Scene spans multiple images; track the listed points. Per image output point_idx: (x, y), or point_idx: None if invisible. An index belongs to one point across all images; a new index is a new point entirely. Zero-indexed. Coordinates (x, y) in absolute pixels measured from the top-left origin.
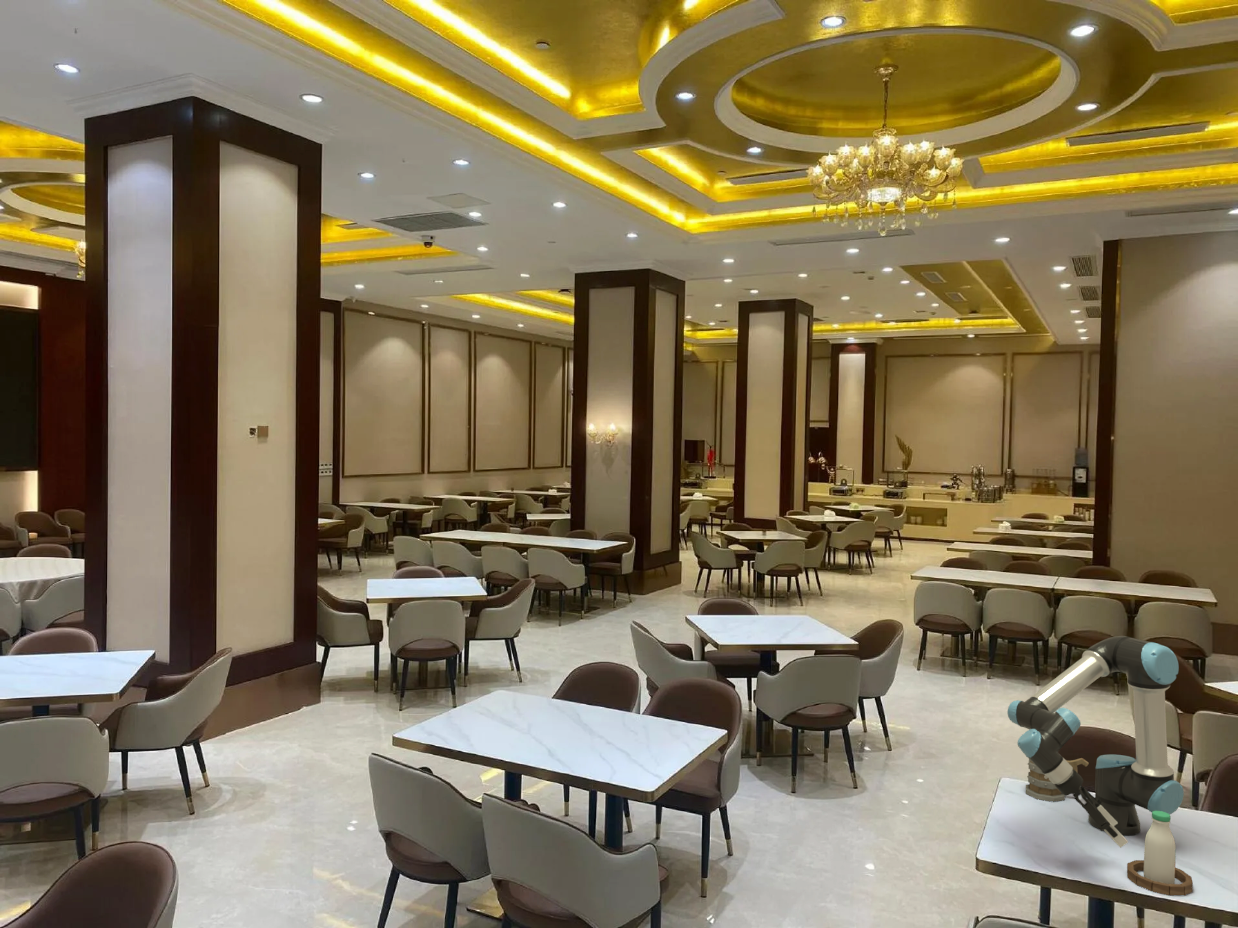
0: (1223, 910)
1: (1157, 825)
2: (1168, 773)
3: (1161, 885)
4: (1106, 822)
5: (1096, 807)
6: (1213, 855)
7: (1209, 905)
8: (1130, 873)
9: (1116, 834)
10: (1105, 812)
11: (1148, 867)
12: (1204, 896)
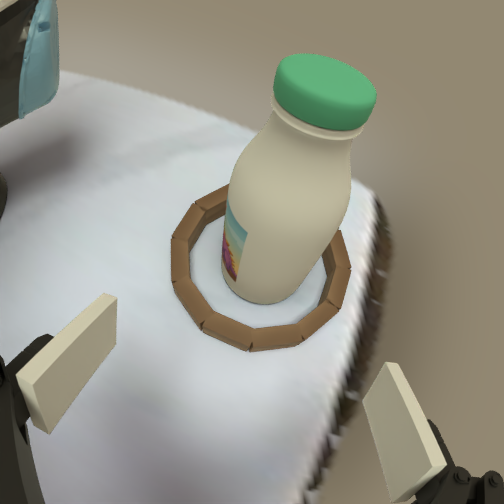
0: (377, 200)
1: (345, 149)
2: None
3: (345, 288)
4: (499, 492)
5: (26, 407)
6: (119, 101)
7: (365, 214)
8: (267, 347)
9: (433, 428)
10: (68, 359)
11: (289, 286)
12: None
